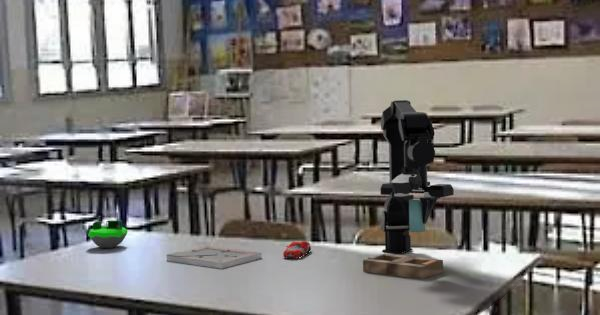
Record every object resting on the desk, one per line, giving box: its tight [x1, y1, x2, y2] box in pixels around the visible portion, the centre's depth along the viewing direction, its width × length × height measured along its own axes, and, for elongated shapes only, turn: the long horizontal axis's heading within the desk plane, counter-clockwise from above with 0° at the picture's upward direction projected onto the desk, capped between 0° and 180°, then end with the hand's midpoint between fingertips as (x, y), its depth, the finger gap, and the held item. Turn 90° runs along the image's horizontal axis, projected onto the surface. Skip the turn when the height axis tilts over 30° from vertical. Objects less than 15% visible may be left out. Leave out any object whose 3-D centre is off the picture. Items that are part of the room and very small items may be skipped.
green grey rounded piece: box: [87, 212, 128, 249], centre depth 294 cm, size 12×12×11 cm
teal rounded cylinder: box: [409, 198, 426, 233], centre depth 243 cm, size 4×4×8 cm
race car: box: [283, 240, 312, 259], centre depth 272 cm, size 13×5×4 cm, turn 161°
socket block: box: [362, 252, 444, 280], centre depth 245 cm, size 18×10×3 cm, turn 51°
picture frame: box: [166, 245, 263, 269], centre depth 270 cm, size 16×2×22 cm
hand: (417, 223), depth 243 cm, fingers closed on teal rounded cylinder, 4 cm apart
